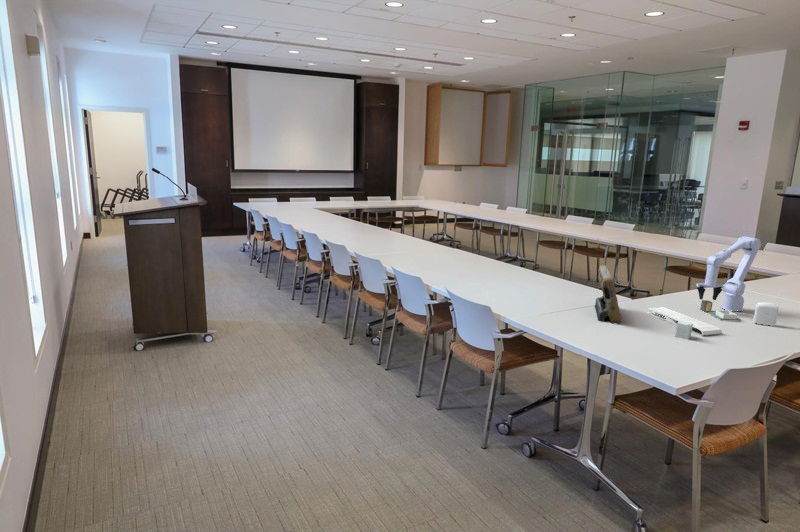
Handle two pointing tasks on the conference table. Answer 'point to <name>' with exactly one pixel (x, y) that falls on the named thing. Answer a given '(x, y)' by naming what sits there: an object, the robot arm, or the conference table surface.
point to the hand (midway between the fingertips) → (707, 299)
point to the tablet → (607, 297)
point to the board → (724, 315)
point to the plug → (706, 306)
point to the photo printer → (766, 313)
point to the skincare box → (684, 329)
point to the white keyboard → (701, 326)
